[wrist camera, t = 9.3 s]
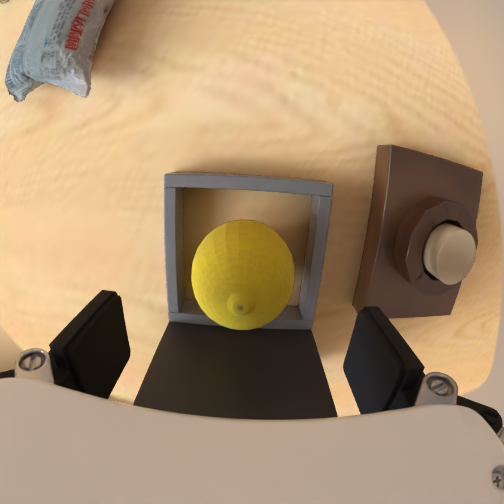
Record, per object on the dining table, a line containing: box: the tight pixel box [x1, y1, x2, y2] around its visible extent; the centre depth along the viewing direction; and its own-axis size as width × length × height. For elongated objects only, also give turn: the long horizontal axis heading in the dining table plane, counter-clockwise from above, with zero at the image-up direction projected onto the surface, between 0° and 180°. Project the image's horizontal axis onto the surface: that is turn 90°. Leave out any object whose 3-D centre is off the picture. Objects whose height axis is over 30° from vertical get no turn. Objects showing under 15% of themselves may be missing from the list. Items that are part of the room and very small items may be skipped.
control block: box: [352, 145, 483, 318], centre depth 17 cm, size 12×9×4 cm
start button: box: [423, 223, 476, 285], centre depth 15 cm, size 4×4×2 cm
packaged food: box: [5, 0, 115, 102], centre depth 11 cm, size 9×12×5 cm
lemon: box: [191, 219, 295, 330], centre depth 15 cm, size 6×6×8 cm
